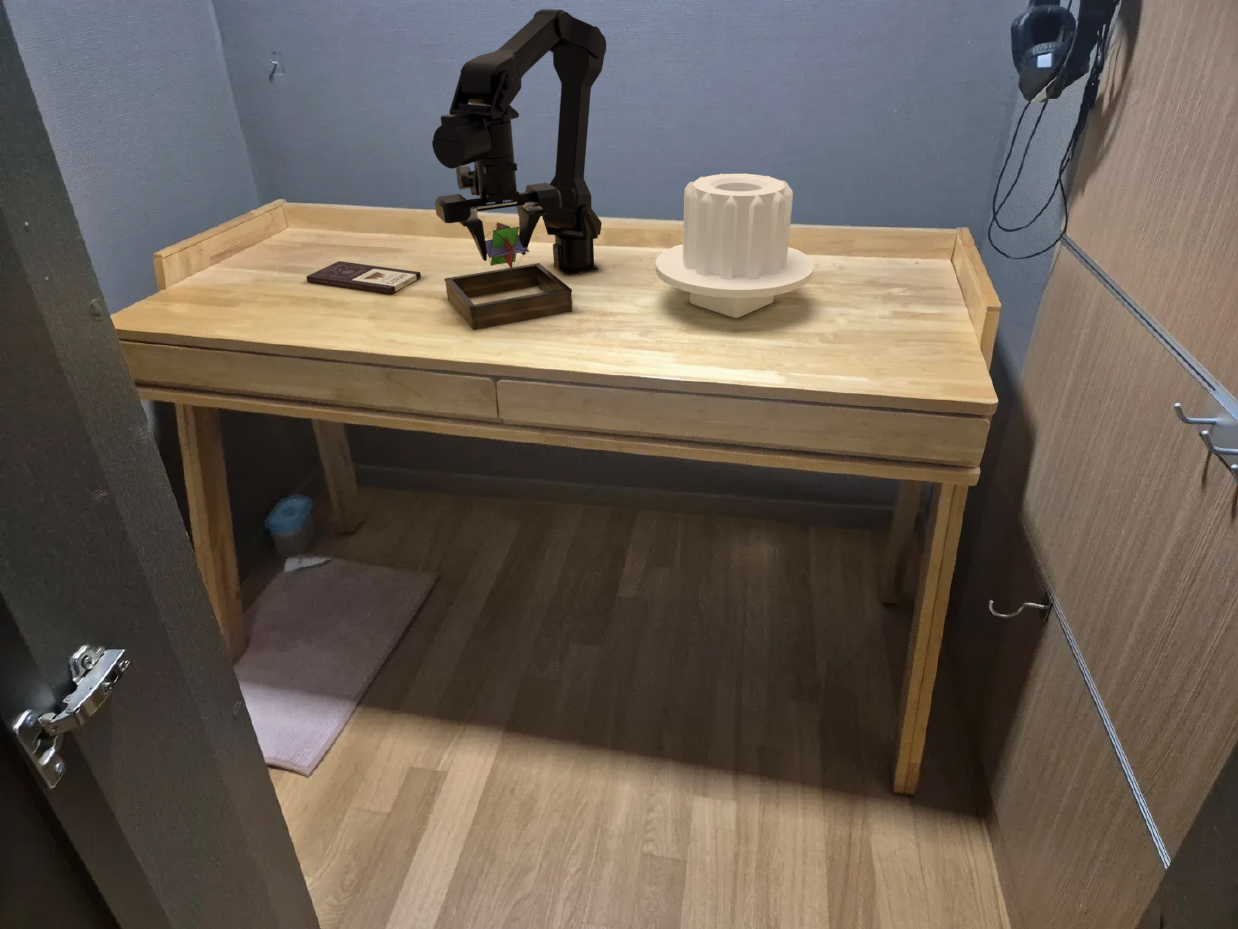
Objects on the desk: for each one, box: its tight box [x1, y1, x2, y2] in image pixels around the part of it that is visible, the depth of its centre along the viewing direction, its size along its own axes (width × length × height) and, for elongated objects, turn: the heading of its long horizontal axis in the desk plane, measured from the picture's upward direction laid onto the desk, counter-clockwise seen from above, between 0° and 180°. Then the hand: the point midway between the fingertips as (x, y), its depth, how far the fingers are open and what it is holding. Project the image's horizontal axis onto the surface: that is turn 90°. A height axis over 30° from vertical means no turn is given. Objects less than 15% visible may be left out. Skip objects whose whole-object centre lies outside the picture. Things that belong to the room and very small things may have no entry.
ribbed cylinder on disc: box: [655, 172, 815, 319], centre depth 128 cm, size 25×25×19 cm
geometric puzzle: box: [485, 221, 530, 271], centre depth 128 cm, size 7×7×8 cm
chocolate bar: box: [305, 260, 422, 295], centre depth 145 cm, size 9×1×18 cm
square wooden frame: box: [444, 262, 573, 331], centre depth 133 cm, size 17×15×4 cm
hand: (504, 257), depth 130 cm, fingers closed on geometric puzzle, 6 cm apart
